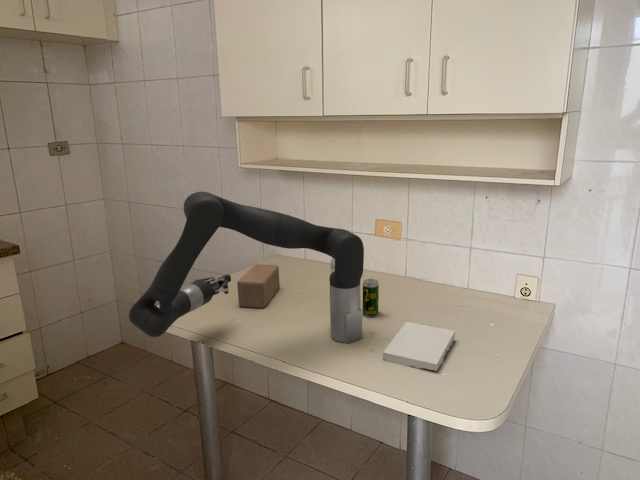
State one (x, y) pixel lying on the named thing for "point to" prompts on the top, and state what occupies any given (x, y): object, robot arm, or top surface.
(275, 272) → the wooden block
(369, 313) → the beer can
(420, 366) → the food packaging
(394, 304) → the top surface
